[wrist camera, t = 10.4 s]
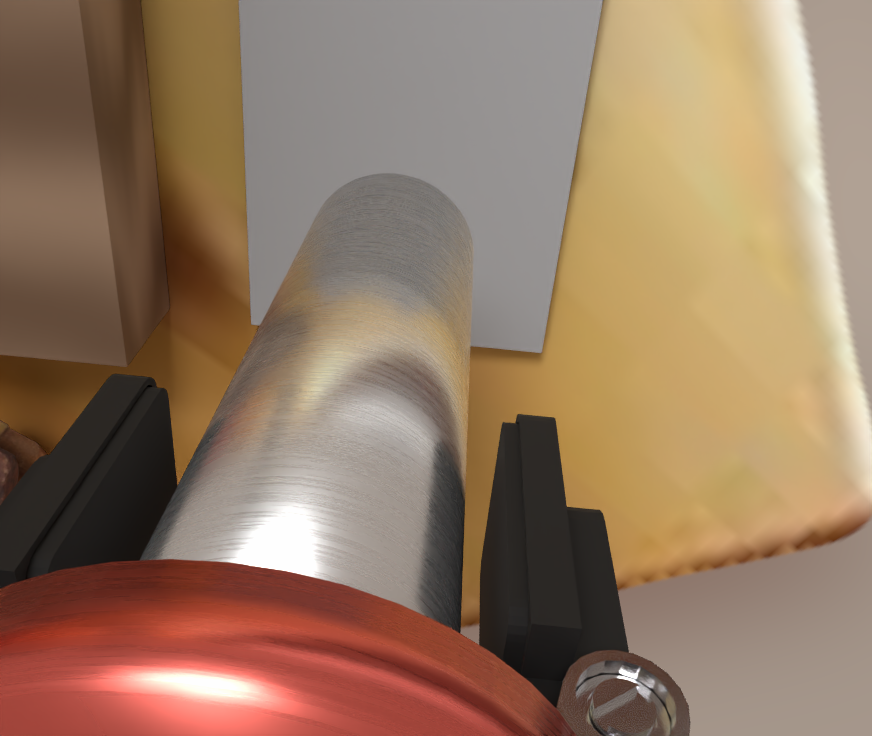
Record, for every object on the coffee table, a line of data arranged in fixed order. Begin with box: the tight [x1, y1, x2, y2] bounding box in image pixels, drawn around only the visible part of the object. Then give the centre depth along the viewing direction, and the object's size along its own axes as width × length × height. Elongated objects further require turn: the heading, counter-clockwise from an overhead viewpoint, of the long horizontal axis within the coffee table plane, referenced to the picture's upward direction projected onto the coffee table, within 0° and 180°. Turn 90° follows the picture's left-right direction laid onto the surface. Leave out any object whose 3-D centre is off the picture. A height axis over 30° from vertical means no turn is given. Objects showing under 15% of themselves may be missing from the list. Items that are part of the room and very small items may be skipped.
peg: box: [0, 173, 576, 736], centre depth 13 cm, size 7×7×15 cm
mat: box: [239, 0, 603, 353], centre depth 25 cm, size 12×10×1 cm
